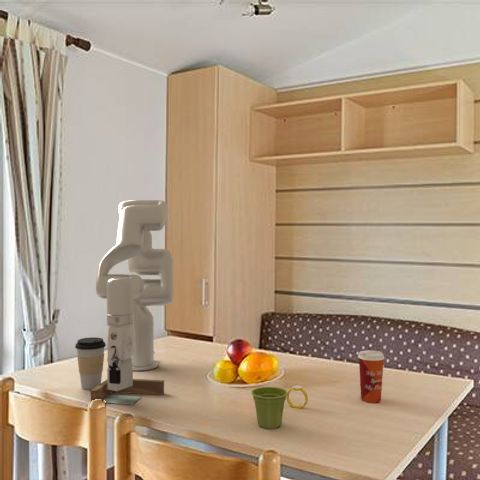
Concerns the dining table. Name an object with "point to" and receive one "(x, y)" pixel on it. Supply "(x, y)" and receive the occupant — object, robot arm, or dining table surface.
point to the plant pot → (269, 406)
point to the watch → (297, 388)
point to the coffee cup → (90, 361)
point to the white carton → (122, 376)
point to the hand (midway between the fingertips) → (120, 379)
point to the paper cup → (371, 375)
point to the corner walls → (138, 387)
